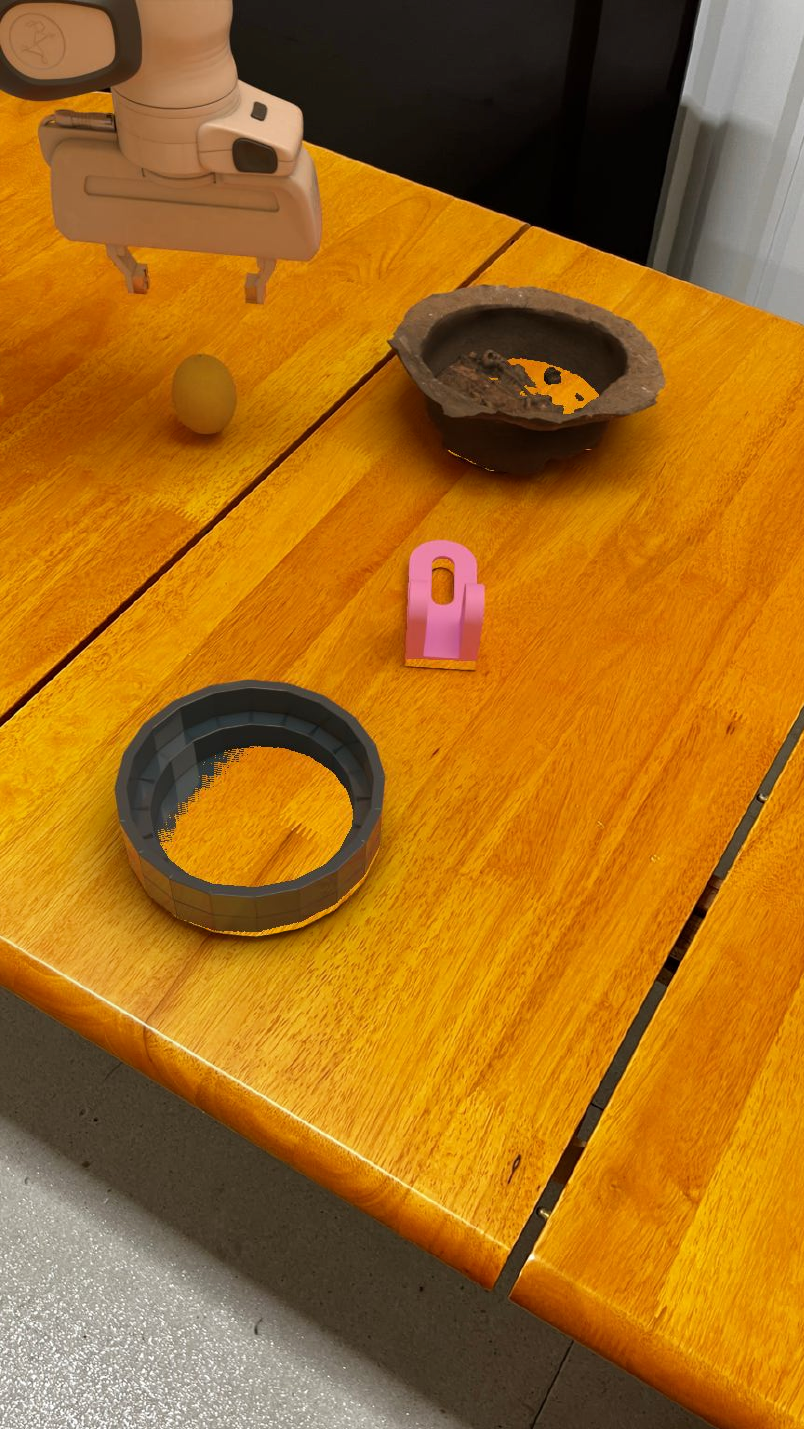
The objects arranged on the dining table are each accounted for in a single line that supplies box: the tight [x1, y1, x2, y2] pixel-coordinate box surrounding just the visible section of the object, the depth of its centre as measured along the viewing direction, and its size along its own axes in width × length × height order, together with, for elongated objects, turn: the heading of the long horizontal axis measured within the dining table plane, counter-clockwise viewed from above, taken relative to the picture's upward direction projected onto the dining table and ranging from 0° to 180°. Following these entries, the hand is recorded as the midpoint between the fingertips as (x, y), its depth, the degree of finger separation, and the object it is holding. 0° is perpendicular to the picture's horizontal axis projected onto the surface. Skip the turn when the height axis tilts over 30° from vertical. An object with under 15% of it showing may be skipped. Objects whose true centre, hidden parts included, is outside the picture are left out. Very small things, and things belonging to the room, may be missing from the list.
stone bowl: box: [385, 283, 666, 476], centre depth 111 cm, size 25×25×9 cm
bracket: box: [404, 539, 486, 662], centre depth 97 cm, size 13×6×7 cm, turn 179°
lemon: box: [171, 353, 238, 435], centre depth 106 cm, size 6×6×8 cm
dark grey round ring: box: [113, 679, 386, 932], centre depth 83 cm, size 18×18×6 cm
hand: (197, 295), depth 99 cm, fingers open, 8 cm apart
